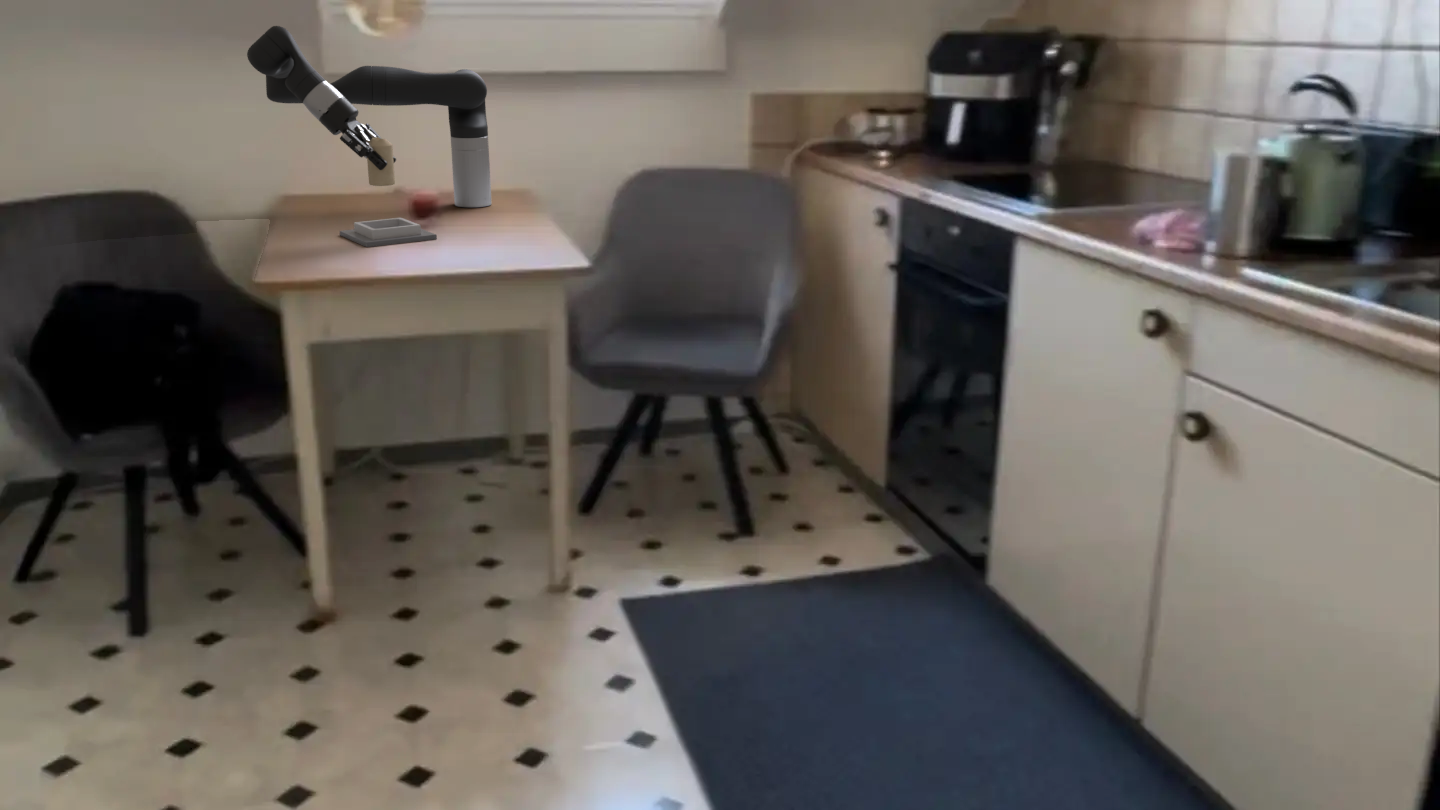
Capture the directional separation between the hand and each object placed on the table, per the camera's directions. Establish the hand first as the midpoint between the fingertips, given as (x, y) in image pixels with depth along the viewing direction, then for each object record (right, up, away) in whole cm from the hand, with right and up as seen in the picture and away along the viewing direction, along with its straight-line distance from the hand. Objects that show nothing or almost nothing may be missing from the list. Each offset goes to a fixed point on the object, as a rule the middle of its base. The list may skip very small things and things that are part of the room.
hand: (388, 165), depth 270 cm
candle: (-2, -4, +2) cm, 5 cm away
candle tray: (-2, -15, +5) cm, 16 cm away
